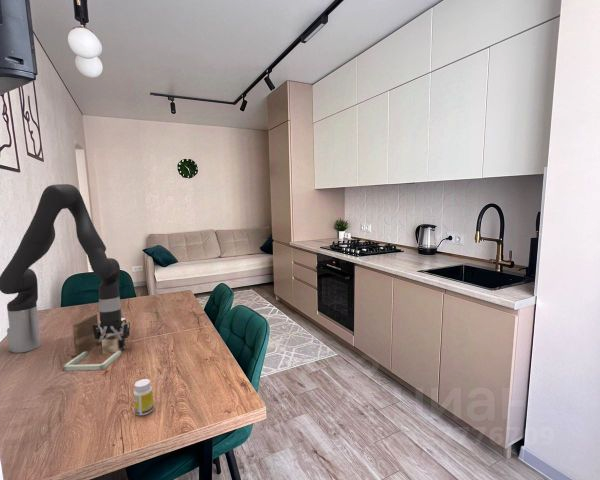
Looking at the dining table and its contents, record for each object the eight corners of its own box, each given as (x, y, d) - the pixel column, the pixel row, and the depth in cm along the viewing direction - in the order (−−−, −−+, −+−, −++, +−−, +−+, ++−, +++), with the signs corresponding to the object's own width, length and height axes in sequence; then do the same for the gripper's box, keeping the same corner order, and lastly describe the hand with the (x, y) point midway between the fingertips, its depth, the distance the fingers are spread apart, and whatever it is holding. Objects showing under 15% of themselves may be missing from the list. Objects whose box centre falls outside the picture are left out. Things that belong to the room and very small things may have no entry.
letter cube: (102, 353, 130) (101, 340, 129) (110, 347, 135) (109, 334, 135) (116, 353, 130) (115, 339, 129) (123, 347, 135) (122, 334, 135)
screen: (71, 357, 126) (68, 325, 125) (91, 343, 139) (89, 314, 138) (84, 357, 126) (81, 325, 125) (103, 343, 139) (101, 314, 138)
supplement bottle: (156, 405, 95) (154, 378, 94) (149, 415, 90) (147, 386, 89) (139, 405, 95) (137, 378, 94) (131, 416, 90) (129, 387, 89)
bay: (62, 370, 116) (62, 366, 116) (84, 355, 128) (83, 351, 128) (103, 369, 116) (102, 365, 116) (121, 354, 129) (120, 350, 128)
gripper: (86, 311, 127) (89, 352, 128) (123, 310, 127) (126, 352, 129) (97, 305, 134) (100, 344, 136) (132, 305, 135) (135, 344, 136)
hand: (113, 348), depth 132 cm, fingers open, 6 cm apart
